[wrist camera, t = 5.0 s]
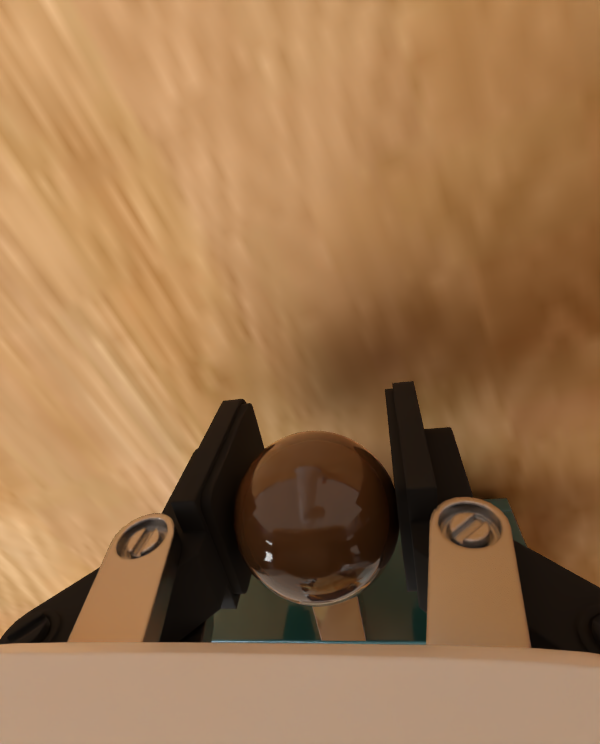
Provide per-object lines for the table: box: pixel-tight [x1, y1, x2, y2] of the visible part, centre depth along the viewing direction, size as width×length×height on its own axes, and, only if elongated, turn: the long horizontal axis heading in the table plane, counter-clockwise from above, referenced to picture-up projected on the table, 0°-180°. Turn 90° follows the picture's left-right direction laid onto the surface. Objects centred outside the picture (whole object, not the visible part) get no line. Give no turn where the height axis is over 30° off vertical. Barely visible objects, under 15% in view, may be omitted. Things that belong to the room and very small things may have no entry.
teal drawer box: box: [211, 431, 527, 645], centre depth 14 cm, size 17×11×6 cm, turn 11°
